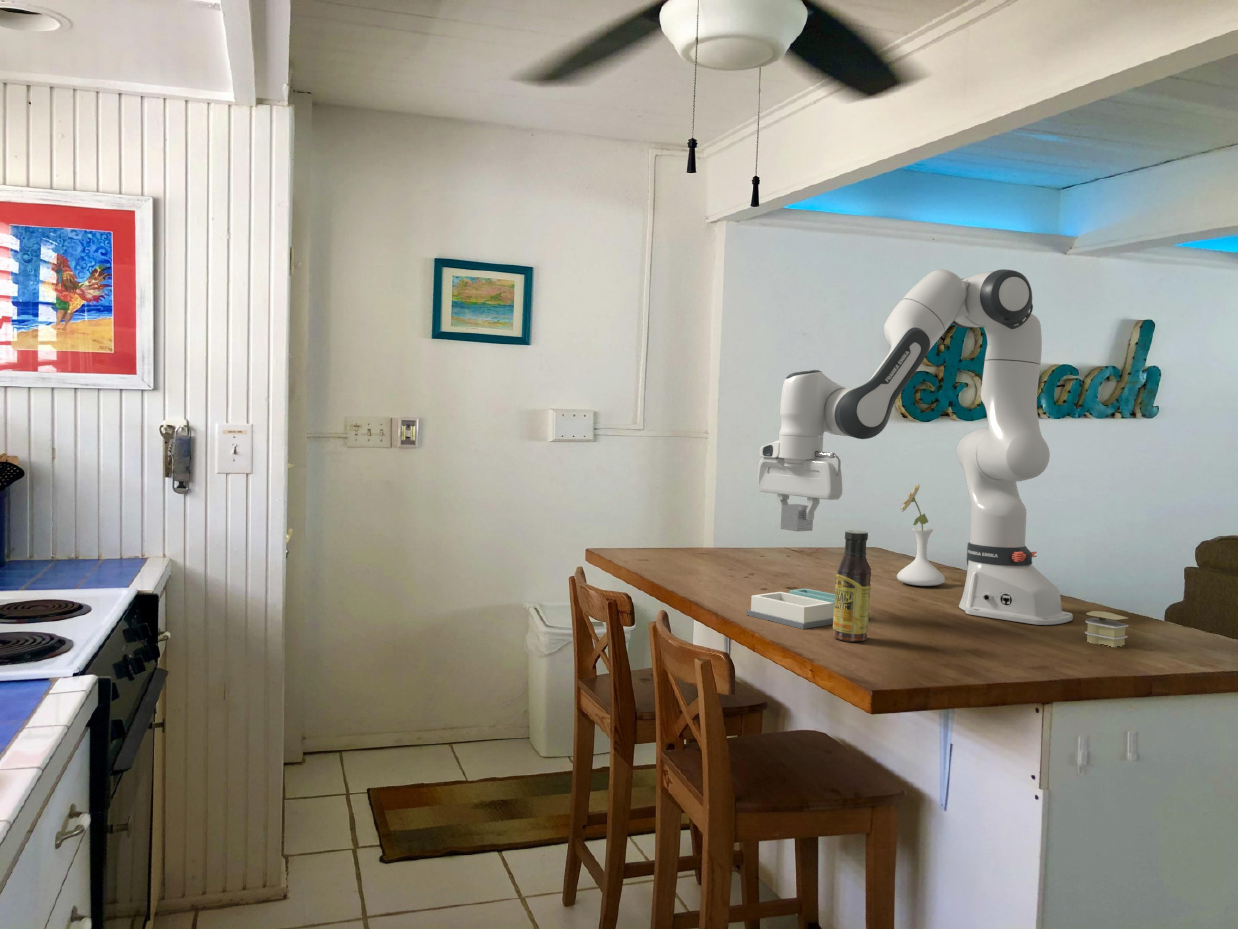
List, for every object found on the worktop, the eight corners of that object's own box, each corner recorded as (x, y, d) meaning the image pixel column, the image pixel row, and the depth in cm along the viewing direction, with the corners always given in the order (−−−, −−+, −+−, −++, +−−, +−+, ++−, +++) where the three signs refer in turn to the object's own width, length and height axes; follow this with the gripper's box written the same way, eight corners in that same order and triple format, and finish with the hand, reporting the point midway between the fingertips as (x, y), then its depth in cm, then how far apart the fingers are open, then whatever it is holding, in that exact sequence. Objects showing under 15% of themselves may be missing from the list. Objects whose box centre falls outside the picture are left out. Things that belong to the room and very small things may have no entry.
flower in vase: (911, 579, 246) (915, 481, 245) (953, 586, 238) (957, 484, 237) (883, 584, 237) (887, 482, 236) (925, 591, 229) (930, 486, 228)
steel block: (812, 530, 196) (813, 506, 196) (797, 531, 194) (798, 506, 193) (795, 528, 200) (797, 504, 200) (780, 528, 197) (781, 504, 197)
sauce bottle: (825, 636, 178) (829, 529, 177) (853, 634, 181) (857, 528, 180) (847, 644, 172) (851, 533, 171) (875, 642, 175) (880, 532, 174)
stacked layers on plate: (1144, 648, 177) (1146, 618, 177) (1114, 653, 172) (1116, 622, 172) (1094, 636, 186) (1095, 608, 185) (1064, 641, 181) (1065, 612, 181)
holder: (869, 617, 197) (870, 598, 196) (802, 629, 184) (803, 608, 184) (812, 605, 208) (813, 586, 208) (746, 615, 196) (747, 595, 196)
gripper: (851, 453, 190) (847, 523, 190) (774, 448, 206) (772, 512, 207) (829, 452, 186) (826, 524, 187) (753, 447, 202) (750, 513, 203)
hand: (797, 518), depth 197 cm, fingers closed on steel block, 4 cm apart
